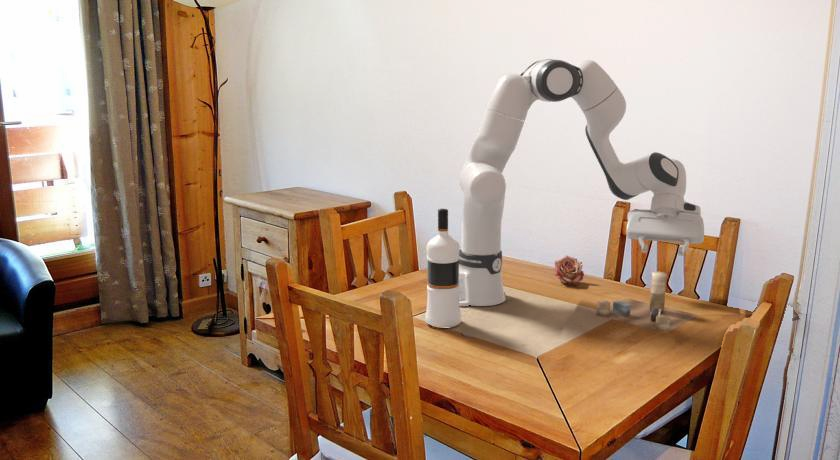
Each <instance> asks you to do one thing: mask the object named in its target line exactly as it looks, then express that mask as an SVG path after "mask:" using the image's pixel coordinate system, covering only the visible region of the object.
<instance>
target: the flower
mask: <svg viewBox="0 0 840 460" xmlns="http://www.w3.org/2000/svg"><path fill="white" fill-rule="evenodd" d="M582 269H583V261H579V260H578V258H575V257H574V256H569V255H564V256H563V257H562V258H559V259H557V260H555V261H554V270H555V276H556V277H557V279H559V280H560V282H561V284H560V286H562V285H563V284H567V283H571V284H572V285H575V286H577V284H578V282H581V281H583V280H584V276H585V275H584V273H585V272H584V270H582Z"/></svg>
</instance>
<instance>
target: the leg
mask: <svg viewBox="0 0 840 460" xmlns="http://www.w3.org/2000/svg"><path fill="white" fill-rule="evenodd" d="M667 275H668V273H667V272H664V271H651V281H650V298H649V303H650V311H651V314H650V318H651V321H656V316H657V315H660V314H661V312H664V307H665V302H666V292H667V291H666V289H667Z"/></svg>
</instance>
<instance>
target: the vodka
mask: <svg viewBox="0 0 840 460" xmlns="http://www.w3.org/2000/svg"><path fill="white" fill-rule="evenodd" d="M460 248H461V247H460V243H459V242H458V240H457V239H455V238H454V237H452V236H451V235H449V209H447V208H438V209H437V235H435V236H434V237H432V238H431V239H430V240H428V242H427V245H426V248H425V249H426V260H427V261H426V262H427V286H426V290H427V291H426V292H427V299H426V311H425V315H424V316H425V317H424V318H425V319H424V320H425V323H426V324H427V323H428V324H430V325H432V326H436V327H453V326H456V325H457V326H459V325H460V324H461V322H462V313H461V309H460V307H461V306H460V305H459V288H460V286H459V259H460V256H459V252H460V250H461V249H460ZM428 324H427V325H428ZM458 324H459V325H458ZM457 326H456V327H457ZM453 328H454V327H453Z"/></svg>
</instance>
